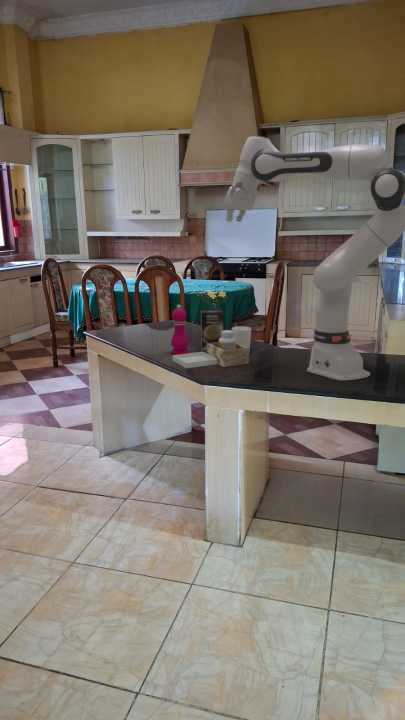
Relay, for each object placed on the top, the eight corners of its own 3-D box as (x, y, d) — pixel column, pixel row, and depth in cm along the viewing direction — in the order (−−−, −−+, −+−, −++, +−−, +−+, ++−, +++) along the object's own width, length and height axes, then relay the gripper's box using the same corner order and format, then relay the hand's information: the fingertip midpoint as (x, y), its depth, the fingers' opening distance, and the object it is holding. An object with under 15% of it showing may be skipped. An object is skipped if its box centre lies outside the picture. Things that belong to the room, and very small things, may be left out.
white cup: (249, 354, 215) (249, 330, 213) (230, 354, 217) (230, 329, 214) (251, 350, 222) (252, 326, 220) (233, 349, 224) (233, 326, 222)
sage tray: (217, 364, 202) (217, 359, 201) (185, 368, 197) (185, 363, 196) (203, 356, 213) (203, 351, 213) (172, 360, 208) (172, 355, 207)
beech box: (248, 363, 202) (249, 348, 200) (223, 367, 198) (223, 351, 196) (230, 355, 215) (230, 340, 213) (206, 358, 210) (206, 343, 209)
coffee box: (201, 350, 223) (200, 312, 219) (201, 347, 229) (200, 309, 225) (223, 350, 223) (223, 312, 219) (222, 346, 229) (222, 309, 225)
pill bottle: (224, 358, 211) (224, 329, 208) (239, 360, 207) (239, 330, 204) (215, 361, 205) (215, 332, 202) (230, 364, 202) (230, 333, 199)
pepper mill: (188, 355, 216) (187, 306, 211) (170, 355, 216) (169, 306, 211) (189, 351, 223) (188, 303, 218) (171, 351, 223) (170, 303, 218)
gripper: (242, 184, 181) (230, 224, 186) (262, 187, 198) (250, 223, 204) (226, 178, 183) (214, 218, 188) (247, 182, 200) (236, 218, 206)
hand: (233, 221), depth 196 cm, fingers open, 8 cm apart
